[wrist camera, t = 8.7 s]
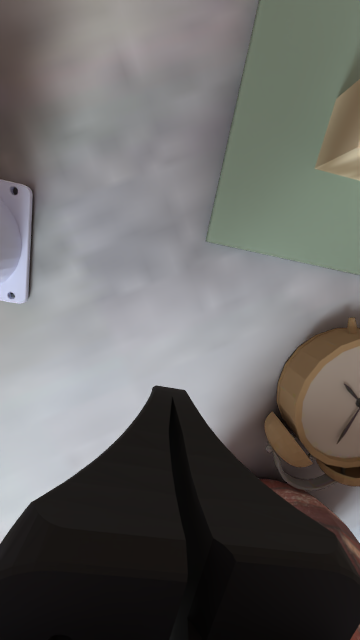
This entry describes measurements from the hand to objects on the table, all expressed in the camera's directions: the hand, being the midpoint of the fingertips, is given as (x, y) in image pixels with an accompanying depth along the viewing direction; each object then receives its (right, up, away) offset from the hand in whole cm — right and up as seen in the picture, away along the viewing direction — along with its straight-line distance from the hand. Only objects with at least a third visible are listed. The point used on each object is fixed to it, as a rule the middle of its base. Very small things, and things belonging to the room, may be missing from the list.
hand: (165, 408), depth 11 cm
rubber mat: (+14, +15, +7) cm, 22 cm away
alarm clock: (+14, -4, +13) cm, 20 cm away
